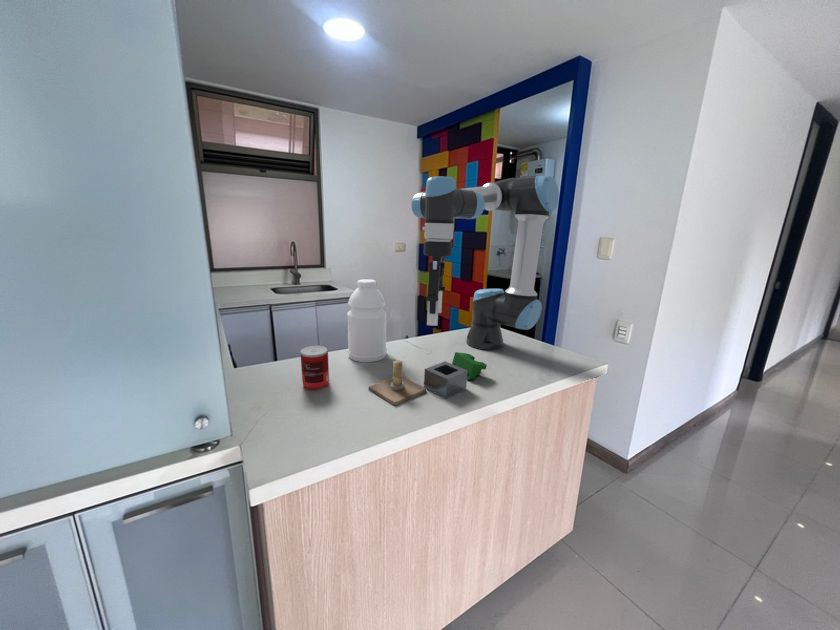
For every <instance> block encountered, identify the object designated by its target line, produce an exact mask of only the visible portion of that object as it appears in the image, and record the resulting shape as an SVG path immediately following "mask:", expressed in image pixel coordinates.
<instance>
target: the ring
mask: <svg viewBox="0 0 840 630" xmlns="http://www.w3.org/2000/svg"><path fill="white" fill-rule="evenodd" d="M423 373H424V375H423V376H424V379H423V387H424V388H426V390H429V391H430V392H433V393H434V394H436V395H438V396H441V397H442V398H444V399H445V400H446V399H448V398H451V397H452V396H454V395H457V394H459V393H461V392H463V391H465V390H467V382H468V379H467V370H465V369H463V368H460V367H458V366H455V365H453V364H452V363H450V362H448V361H443V362H440V363H437V364H434V365H431V366H428V367H426V368H424V372H423Z"/></svg>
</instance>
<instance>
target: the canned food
mask: <svg viewBox="0 0 840 630" xmlns="http://www.w3.org/2000/svg"><path fill="white" fill-rule="evenodd" d="M328 352H329V350H328V348H327V347H325V346H323V345H309V346H306V347H303V348H301V350H300V364H301V365H300V367H301V378H302V379H301V380H302V385H303V387H304V389H306V390H309V389H310V391H317V389H318V390H322V389H325V388H326V387H327V386H328V385H329V383H330V373H329V372H330V371H329V353H328Z"/></svg>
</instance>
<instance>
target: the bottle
mask: <svg viewBox="0 0 840 630" xmlns="http://www.w3.org/2000/svg"><path fill="white" fill-rule="evenodd" d="M356 286H357V287H356V288H355V289H354V291H353V292H352V294H351V295H350V297H349V299H348V301H347V305H348V306H349V307H350V310H349V311H348V312H347V314H346V316H347V343H348V344H347V345H348V351H347V353H348V354H347V355H348V357H349V358H350V359H351V360H352V361H354V362H355V361H356V362H360V363H374V362H378V361H381V360H383V359H385V358H386V356H387V311H386V310H385V309H384V307H385V306H386V304H387V302H386V298H385V297H384V295H383V293H382V292H381V291H380V290H379V288H377V280H375V279H372V278H371V279H367V278H365V279H363V278H362V279H359V280H356Z"/></svg>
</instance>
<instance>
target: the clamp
mask: <svg viewBox="0 0 840 630" xmlns="http://www.w3.org/2000/svg"><path fill="white" fill-rule="evenodd" d="M475 359H476V357H475V356H473V355H472V354H470V353H466V352H458V351H457V352H456V351H455V352H454V356H453V359H452V362H451V364H453V365H455V366H458V367H460V368H463V369H465V370H467V381H469V380H471V381H473V380H474V381H475V379H476V377H477V376H480V375H481V373H482V370H484V371H485V370H487V367H488V365H487V363H484V362H483V361H477V360H475Z"/></svg>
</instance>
